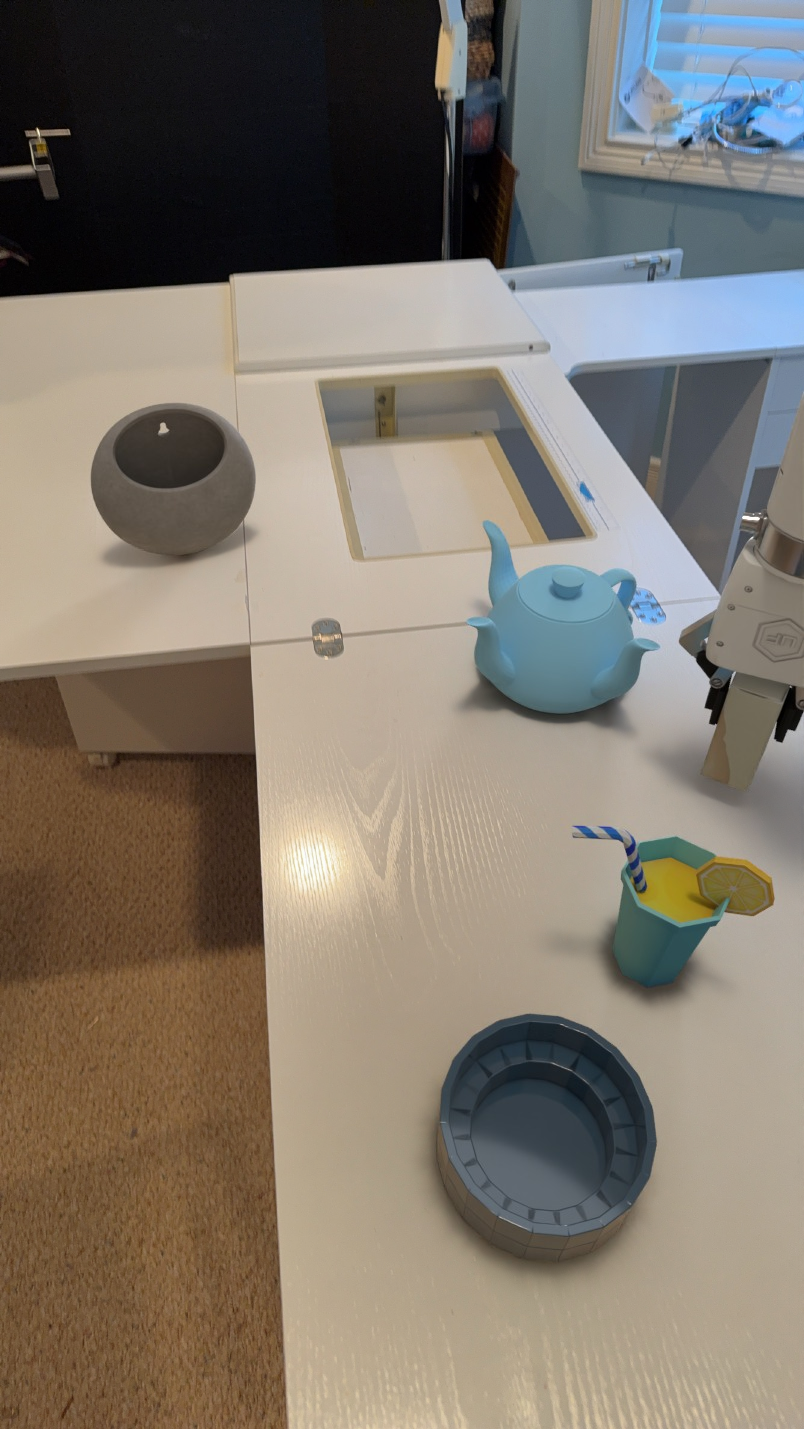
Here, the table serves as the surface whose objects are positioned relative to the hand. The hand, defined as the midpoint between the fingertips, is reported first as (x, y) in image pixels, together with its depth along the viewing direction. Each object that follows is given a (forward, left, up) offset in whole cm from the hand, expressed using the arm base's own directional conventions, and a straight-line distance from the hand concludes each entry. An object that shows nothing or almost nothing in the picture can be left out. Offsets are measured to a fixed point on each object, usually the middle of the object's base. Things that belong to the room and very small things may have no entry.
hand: (747, 721), depth 75 cm
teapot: (+20, -8, -8) cm, 23 cm away
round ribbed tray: (+7, +38, -8) cm, 39 cm away
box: (0, 0, -6) cm, 6 cm away
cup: (+4, +21, -8) cm, 23 cm away
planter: (+66, -12, -8) cm, 67 cm away
